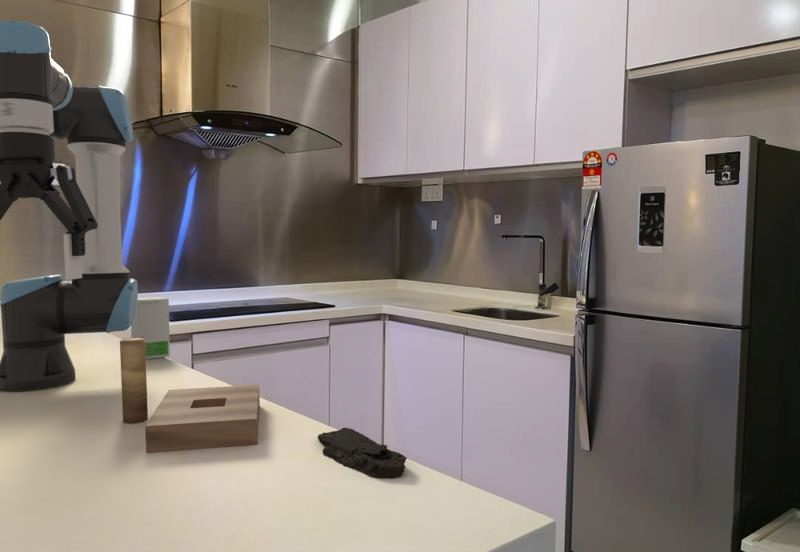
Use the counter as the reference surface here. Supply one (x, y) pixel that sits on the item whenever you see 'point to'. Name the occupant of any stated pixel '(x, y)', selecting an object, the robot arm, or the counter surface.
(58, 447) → the counter surface
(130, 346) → the oak dowel
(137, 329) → the skincare box
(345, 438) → the black flat rough slab
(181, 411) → the seat board
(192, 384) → the counter surface
